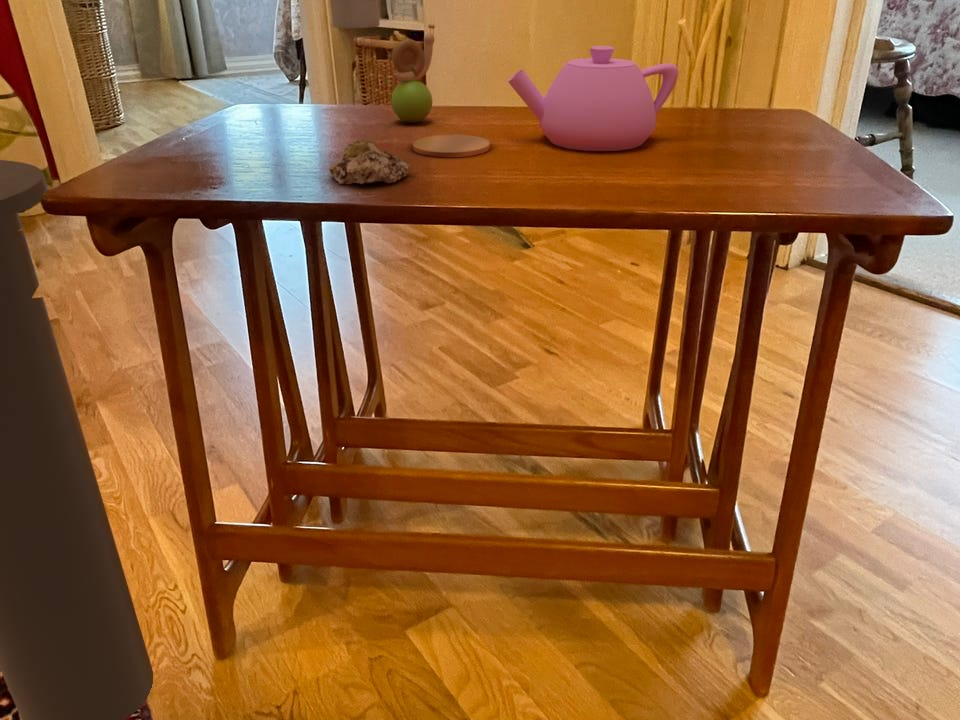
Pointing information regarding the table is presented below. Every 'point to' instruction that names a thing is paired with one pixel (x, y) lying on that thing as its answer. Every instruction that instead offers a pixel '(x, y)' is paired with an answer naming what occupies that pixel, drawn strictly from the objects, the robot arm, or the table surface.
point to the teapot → (598, 102)
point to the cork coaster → (451, 146)
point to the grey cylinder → (355, 13)
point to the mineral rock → (368, 165)
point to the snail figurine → (412, 79)
